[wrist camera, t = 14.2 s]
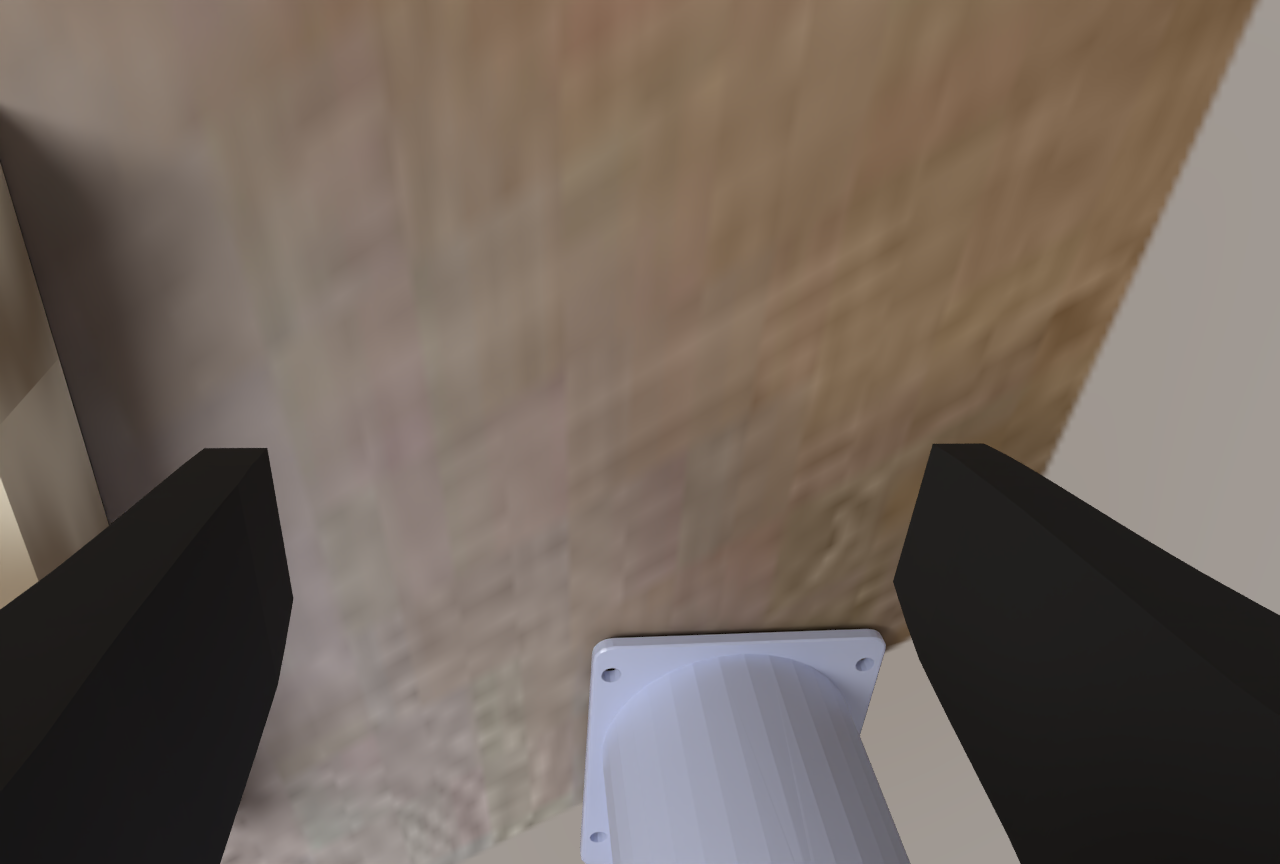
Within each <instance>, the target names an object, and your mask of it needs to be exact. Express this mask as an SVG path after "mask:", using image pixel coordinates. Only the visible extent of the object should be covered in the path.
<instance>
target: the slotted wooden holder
mask: <svg viewBox="0 0 1280 864" xmlns="http://www.w3.org/2000/svg"><path fill="white" fill-rule="evenodd" d="M108 526H109V524H108V521H107V517H106V514H105V511H104V507H103V504H102V501H101V497H100V494H99V491H98V487H97V484H96V481H95V477H94V474H93V471H92V467H91V464H90V461H89V457H88V454H87V451H86V447H85V444H84V441H83V437H82V434H81V431H80V427H79V424H78V421H77V417H76V414H75V411H74V407H73V404H72V401H71V397H70V394H69V391H68V387H67V384H66V380H65V377H64V374H63V370H62V367H61V364H60V360H59V357H58V354H57V350H56V347H55V344H54V340H53V337H52V334H51V330H50V327H49V324H48V320H47V317H46V314H45V310H44V307H43V304H42V300H41V297H40V294H39V290H38V287H37V284H36V280H35V277H34V274H33V270H32V267H31V264H30V260H29V257H28V254H27V250H26V247H25V244H24V240H23V237H22V234H21V230H20V227H19V223H18V220H17V217H16V213H15V210H14V207H13V203H12V200H11V197H10V193H9V190H8V187H7V183H6V180H5V177H4V173H3V170H2V167H1V163H0V609H1V608H3V607H4V606H6V605H7V604H8V603H10V602H11V601H12V600H14V599H15V598H16V597H18V596H19V595H21V594H22V593H23V592H25V591H26V590H27V589H29V588H30V587H31V586H33V585H34V584H36V583H37V582H38V581H40V580H41V579H42V578H44V577H45V576H46V575H48V574H49V573H50V572H52V571H53V570H54V569H56V568H57V567H58V566H60V565H61V564H62V563H63V562H65V561H66V560H67V559H68V558H70V557H71V556H72V555H73V554H75V553H76V552H77V551H78V550H79V549H81V548H82V547H83V546H84V545H86V544H87V543H88V542H89V541H91V540H92V539H93V538H94V537H96V536H97V535H98V534H99V533H101V532H102V531H103V530H104V529H106V528H107V527H108Z"/></svg>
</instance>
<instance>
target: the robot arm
mask: <svg viewBox="0 0 1280 864" xmlns="http://www.w3.org/2000/svg"><path fill="white" fill-rule="evenodd" d="M893 583H894V586H895V589H896V592H897V595H898V599H899V602H900V605H901V608H902V611H903V614H904V617H905V621H906V624H907V627H908V629H909V632H910V635H911V638H912V640H913V643H914V646H915V649H916V651H917V654H918V657H919V660H920V662H921V664H922V666H923V668H924V670H925V672H926V674H927V676H928V678H929V680H930V683H931V684H932V686H933V688H934V691H935V693H936V695H937V697H938V699H939V701H940V702H941V705H942V707H943V708H944V711H945V713H946V715H947V717H948V719H949V721H950V723H951V725H952V727H953V728H954V730H955V732H956V734H957V736H958V738H959V740H960V742H961V744H962V746H963V748H964V750H965V752H966V754H967V756H968V758H969V760H970V762H971V763H972V766H973V768H974V770H975V772H976V774H977V776H978V778H979V780H980V782H981V784H982V786H983V788H984V790H985V792H986V793H987V795H988V797H989V799H990V801H991V803H992V805H993V807H994V809H995V811H996V813H997V815H998V817H999V819H1000V821H1001V823H1002V825H1003V827H1004V829H1005V831H1006V833H1007V835H1008V837H1009V839H1010V841H1011V843H1012V846H1013V848H1014V850H1015V852H1016V854H1017V857H1018V859H1019V861H1020V863H1021V864H1280V615H1278V614H1276V613H1274V612H1272V611H1271V610H1269V609H1267V608H1265V607H1263V606H1261V605H1259V604H1258V603H1256V602H1254V601H1252V600H1250V599H1248V598H1247V597H1245V596H1243V595H1241V594H1240V593H1238V592H1236V591H1234V590H1232V589H1230V588H1229V587H1227V586H1225V585H1223V584H1222V583H1220V582H1218V581H1216V580H1214V579H1213V578H1211V577H1209V576H1207V575H1205V574H1203V573H1202V572H1200V571H1198V570H1197V569H1195V568H1193V567H1192V566H1190V565H1188V564H1186V563H1185V562H1183V561H1181V560H1180V559H1178V558H1176V557H1174V556H1173V555H1171V554H1169V553H1168V552H1166V551H1164V550H1163V549H1161V548H1159V547H1158V546H1156V545H1154V544H1152V543H1151V542H1149V541H1148V540H1146V539H1144V538H1143V537H1141V536H1139V535H1138V534H1136V533H1134V532H1133V531H1131V530H1130V529H1128V528H1126V527H1125V526H1123V525H1121V524H1120V523H1118V522H1116V521H1115V520H1113V519H1112V518H1110V517H1108V516H1107V515H1105V514H1103V513H1102V512H1100V511H1099V510H1097V509H1095V508H1094V507H1092V506H1091V505H1089V504H1087V503H1086V502H1084V501H1083V500H1081V499H1079V498H1078V497H1076V496H1074V495H1073V494H1071V493H1070V492H1068V491H1066V490H1065V489H1063V488H1062V487H1060V486H1058V485H1057V484H1055V483H1053V482H1052V481H1050V480H1048V479H1047V478H1045V477H1043V476H1042V475H1040V474H1038V473H1037V472H1035V471H1033V470H1032V469H1030V468H1028V467H1027V466H1025V465H1023V464H1021V463H1020V462H1018V461H1016V460H1014V459H1013V458H1011V457H1009V456H1007V455H1005V454H1003V453H1002V452H1000V451H998V450H996V449H994V448H992V447H990V446H988V445H985V444H933V445H932V449H931V452H930V456H929V459H928V463H927V466H926V470H925V473H924V477H923V480H922V483H921V487H920V490H919V494H918V497H917V501H916V504H915V508H914V511H913V515H912V518H911V521H910V525H909V528H908V532H907V535H906V539H905V542H904V546H903V549H902V553H901V556H900V560H899V563H898V566H897V570H896V573H895V577H894V580H893ZM292 603H293V594H292V589H291V583H290V577H289V571H288V565H287V560H286V554H285V548H284V542H283V537H282V531H281V525H280V519H279V514H278V508H277V502H276V496H275V490H274V485H273V479H272V473H271V467H270V462H269V456H268V450H267V448H204V449H203V450H202V451H200V452H199V453H198V454H196V455H195V456H194V457H192V458H191V459H190V460H189V461H187V462H186V463H185V464H183V465H182V466H181V467H180V468H179V469H177V470H176V471H175V472H174V473H172V474H171V475H170V476H169V477H168V478H166V479H165V480H164V481H163V482H162V483H160V484H159V485H158V486H157V487H155V488H154V489H153V490H152V491H151V492H149V493H148V494H147V495H146V496H145V497H143V498H142V499H141V500H140V501H139V502H137V503H136V504H135V505H134V506H133V507H131V508H130V509H129V510H128V511H127V512H125V513H124V514H123V515H122V516H121V517H119V518H118V519H117V520H116V521H114V522H113V523H112V524H111V525H109V526H108V527H107V528H106V529H104V530H103V531H102V532H101V533H99V534H98V535H97V536H96V537H94V538H93V539H92V540H91V541H89V542H88V543H87V544H86V545H84V546H83V547H82V548H81V549H79V550H78V551H77V552H76V553H75V554H73V555H72V556H71V557H70V558H68V559H67V560H66V561H65V562H63V563H62V564H61V565H60V566H58V567H57V568H56V569H54V570H53V571H52V572H50V573H49V574H48V575H46V576H45V577H44V578H42V579H41V580H40V581H38V582H37V583H36V584H34V585H33V586H31V587H30V588H29V589H27V590H26V591H25V592H23V593H22V594H21V595H19V596H18V597H16V598H15V599H14V600H12V601H11V602H10V603H8V604H7V605H6V606H4V607H3V608H1V609H0V864H220V862H221V859H222V856H223V853H224V850H225V847H226V844H227V841H228V838H229V835H230V832H231V829H232V825H233V822H234V819H235V816H236V813H237V810H238V807H239V804H240V801H241V798H242V795H243V792H244V789H245V786H246V783H247V780H248V776H249V773H250V770H251V767H252V764H253V761H254V758H255V755H256V752H257V749H258V746H259V742H260V739H261V736H262V733H263V730H264V727H265V724H266V721H267V717H268V714H269V711H270V708H271V705H272V702H273V698H274V695H275V692H276V689H277V685H278V680H279V675H280V670H281V665H282V660H283V655H284V649H285V644H286V638H287V632H288V627H289V621H290V615H291V609H292ZM885 649H886V644H885V642H884V640H883V638H882V636H881V634H880V633H879V632H878V631H876V630H873V629H851V630H823V631H795V632H768V633H740V634H713V635H685V636H657V637H630V638H610V639H605V640H603V641H601V642H599V643H598V644H597V645H596V646H595V647H594V649H593V652H592V664H591V680H590V696H589V712H588V729H587V745H586V761H585V777H584V794H583V811H582V826H581V843H580V852H581V859H582V861H583V862H585V863H586V864H910V862H909V859H908V856H907V854H906V852H905V849H904V846H903V844H902V841H901V839H900V836H899V834H898V832H897V829H896V826H895V824H894V821H893V819H892V816H891V814H890V811H889V809H888V806H887V804H886V801H885V799H884V796H883V794H882V791H881V789H880V786H879V783H878V781H877V779H876V776H875V773H874V771H873V768H872V766H871V763H870V761H869V758H868V756H867V753H866V751H865V748H864V746H863V743H862V741H861V738H860V733H861V730H862V726H863V723H864V720H865V716H866V713H867V710H868V706H869V703H870V700H871V696H872V693H873V690H874V686H875V683H876V679H877V676H878V673H879V669H880V666H881V663H882V659H883V656H884V653H885ZM863 658H865V659H863ZM861 659H863V660H861ZM610 668H615V670H612V671H606V669H610Z"/></svg>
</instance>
